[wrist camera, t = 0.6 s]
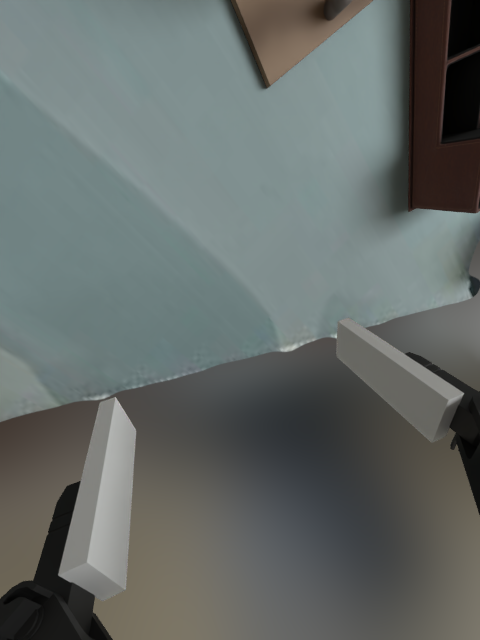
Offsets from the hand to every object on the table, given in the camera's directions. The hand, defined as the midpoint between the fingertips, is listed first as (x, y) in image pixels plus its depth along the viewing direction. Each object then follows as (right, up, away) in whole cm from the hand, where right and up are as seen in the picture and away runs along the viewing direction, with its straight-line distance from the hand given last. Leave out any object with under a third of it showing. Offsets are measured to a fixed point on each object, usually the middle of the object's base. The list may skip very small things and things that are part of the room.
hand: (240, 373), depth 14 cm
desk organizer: (+31, +37, +25) cm, 54 cm away
